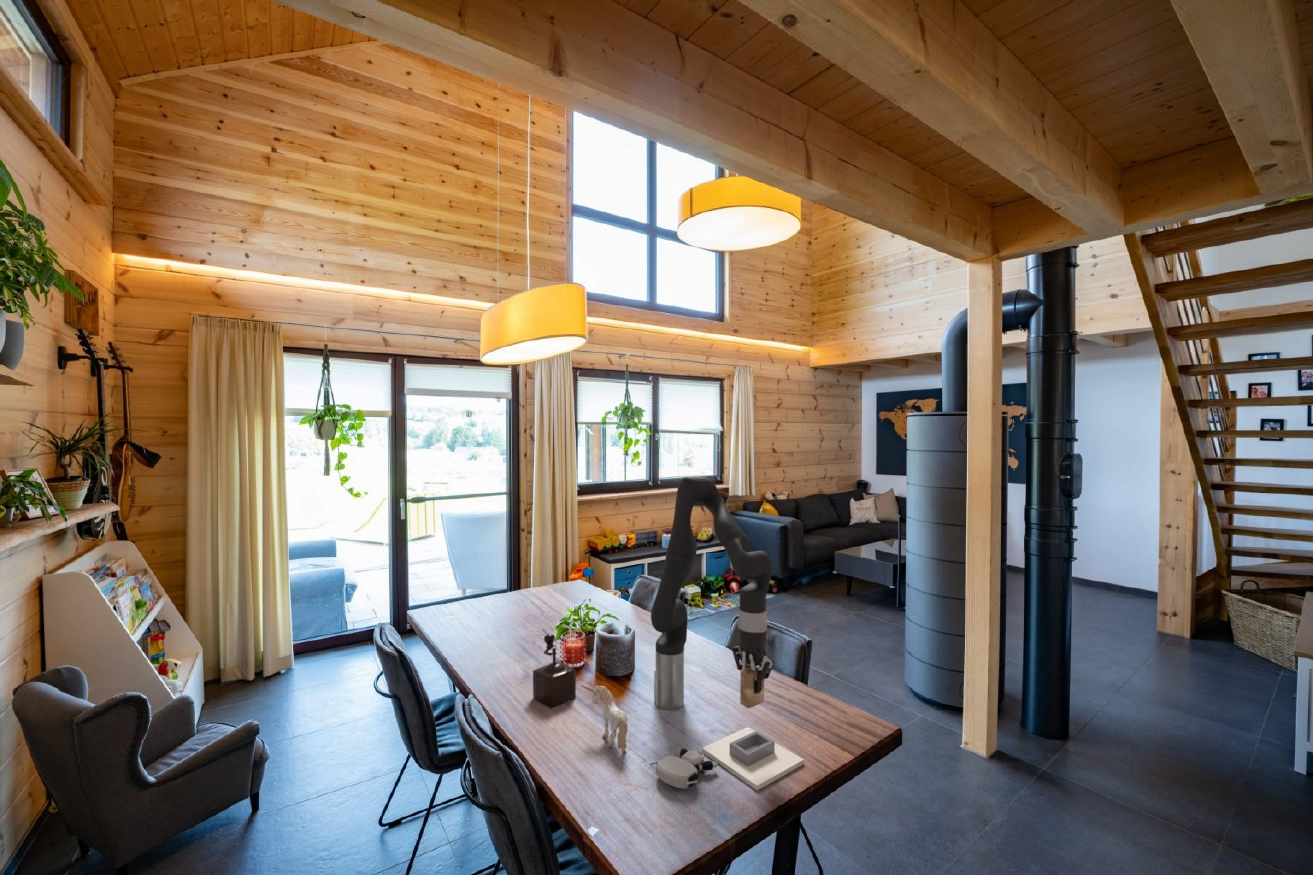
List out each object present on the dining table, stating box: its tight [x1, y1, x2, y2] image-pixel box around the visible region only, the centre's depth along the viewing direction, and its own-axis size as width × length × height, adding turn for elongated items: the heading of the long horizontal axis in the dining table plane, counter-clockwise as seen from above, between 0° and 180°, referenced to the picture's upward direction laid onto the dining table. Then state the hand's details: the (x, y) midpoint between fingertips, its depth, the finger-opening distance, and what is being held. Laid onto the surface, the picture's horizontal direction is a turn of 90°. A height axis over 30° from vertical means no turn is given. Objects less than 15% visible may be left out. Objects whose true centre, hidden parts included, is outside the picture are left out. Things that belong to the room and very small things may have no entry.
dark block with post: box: [532, 633, 577, 709], centre depth 180 cm, size 16×11×18 cm
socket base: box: [701, 726, 805, 791], centre depth 145 cm, size 18×20×4 cm
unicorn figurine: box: [580, 684, 628, 752], centre depth 153 cm, size 7×20×13 cm, turn 43°
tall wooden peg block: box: [739, 666, 765, 709], centre depth 145 cm, size 3×6×9 cm, turn 127°
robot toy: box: [648, 747, 719, 790], centre depth 137 cm, size 12×4×15 cm
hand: (752, 690), depth 145 cm, fingers closed on tall wooden peg block, 3 cm apart
